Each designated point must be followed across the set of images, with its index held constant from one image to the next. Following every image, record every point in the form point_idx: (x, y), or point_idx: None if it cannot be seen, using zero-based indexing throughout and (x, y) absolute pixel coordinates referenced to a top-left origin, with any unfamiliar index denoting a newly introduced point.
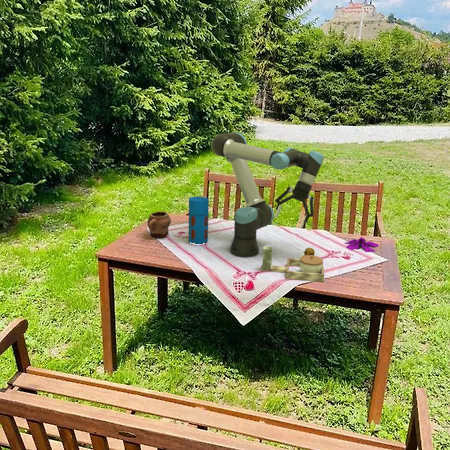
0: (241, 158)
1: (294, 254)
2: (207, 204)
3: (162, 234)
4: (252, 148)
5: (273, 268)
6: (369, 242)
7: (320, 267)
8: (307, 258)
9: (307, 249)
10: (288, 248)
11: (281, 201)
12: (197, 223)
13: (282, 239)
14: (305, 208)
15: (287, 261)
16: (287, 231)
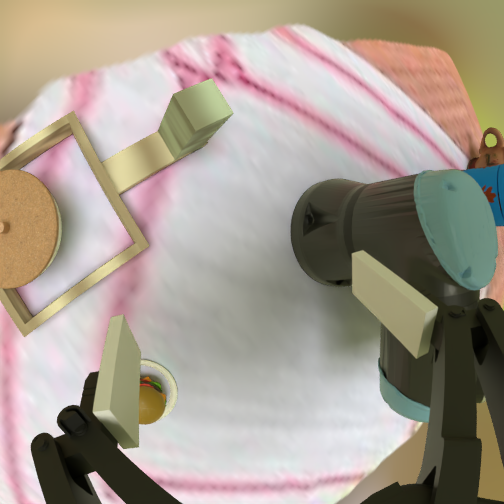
0: None
1: (197, 367)
2: None
3: (474, 163)
4: None
5: (149, 139)
6: None
7: None
8: (19, 216)
9: (147, 396)
10: (252, 395)
11: (461, 335)
12: (478, 171)
13: (314, 432)
14: (137, 486)
15: (124, 207)
16: (335, 478)
